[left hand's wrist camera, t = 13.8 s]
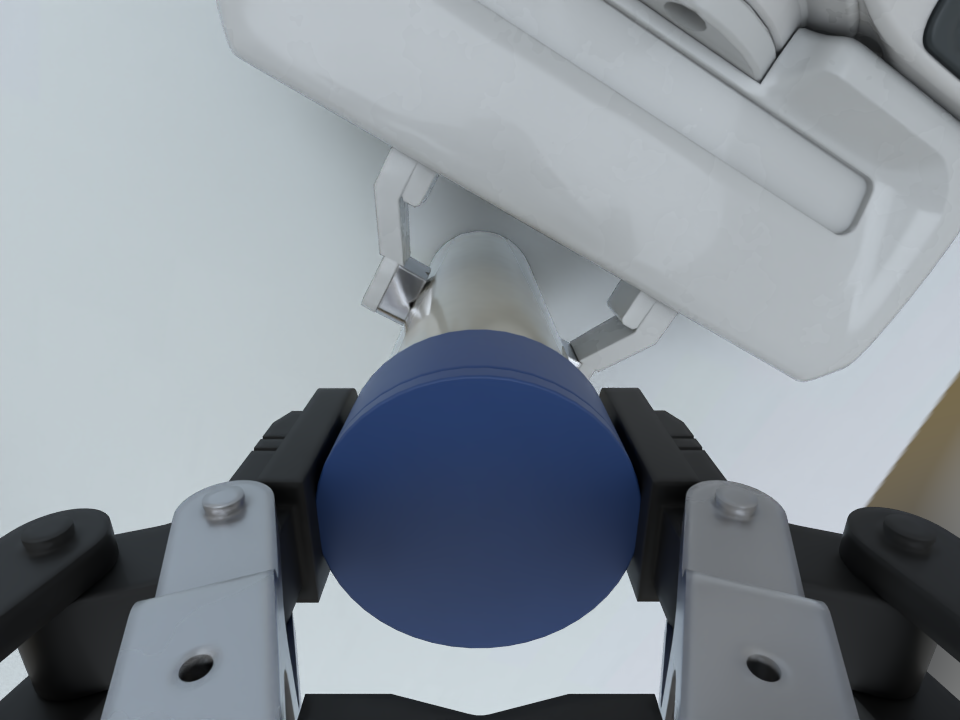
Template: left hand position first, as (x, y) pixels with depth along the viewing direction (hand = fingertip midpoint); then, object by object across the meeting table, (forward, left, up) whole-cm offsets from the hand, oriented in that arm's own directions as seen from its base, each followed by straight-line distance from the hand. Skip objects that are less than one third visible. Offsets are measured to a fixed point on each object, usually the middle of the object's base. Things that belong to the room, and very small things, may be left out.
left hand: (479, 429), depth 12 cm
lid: (0, 0, +3) cm, 3 cm away
